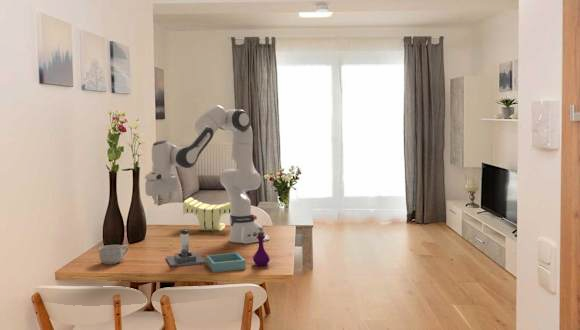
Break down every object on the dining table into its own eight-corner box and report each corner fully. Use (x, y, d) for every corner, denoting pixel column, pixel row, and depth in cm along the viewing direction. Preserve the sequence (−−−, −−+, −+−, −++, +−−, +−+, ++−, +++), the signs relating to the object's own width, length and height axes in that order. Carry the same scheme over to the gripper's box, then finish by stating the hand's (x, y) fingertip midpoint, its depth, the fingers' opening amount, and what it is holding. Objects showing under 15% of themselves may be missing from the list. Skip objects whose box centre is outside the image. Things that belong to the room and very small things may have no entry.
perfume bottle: (253, 263, 278) (252, 225, 276) (269, 262, 278) (268, 225, 277) (253, 267, 270) (252, 228, 268) (269, 267, 271) (269, 228, 269)
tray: (237, 260, 282) (237, 252, 282) (245, 268, 268) (245, 260, 268) (206, 263, 278) (206, 255, 277) (213, 272, 263) (212, 263, 263)
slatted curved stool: (183, 231, 348) (182, 201, 347) (191, 225, 364) (190, 197, 362) (233, 232, 345) (233, 201, 343) (239, 226, 361) (238, 197, 359)
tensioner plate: (198, 255, 293) (198, 249, 293) (205, 263, 278) (204, 257, 278) (166, 258, 288) (165, 252, 287) (170, 267, 273) (170, 260, 272)
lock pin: (189, 257, 285) (188, 228, 284) (190, 259, 281) (189, 230, 280) (179, 258, 284) (179, 229, 283) (181, 260, 280) (180, 231, 278)
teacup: (101, 267, 274) (100, 250, 273) (97, 261, 283) (96, 245, 282) (131, 263, 280) (131, 246, 279) (126, 258, 290) (126, 242, 289)
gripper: (171, 171, 298) (172, 198, 299) (142, 176, 280) (143, 205, 281) (180, 172, 295) (182, 199, 296) (152, 177, 277) (154, 206, 278)
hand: (163, 202), depth 289 cm, fingers open, 8 cm apart
